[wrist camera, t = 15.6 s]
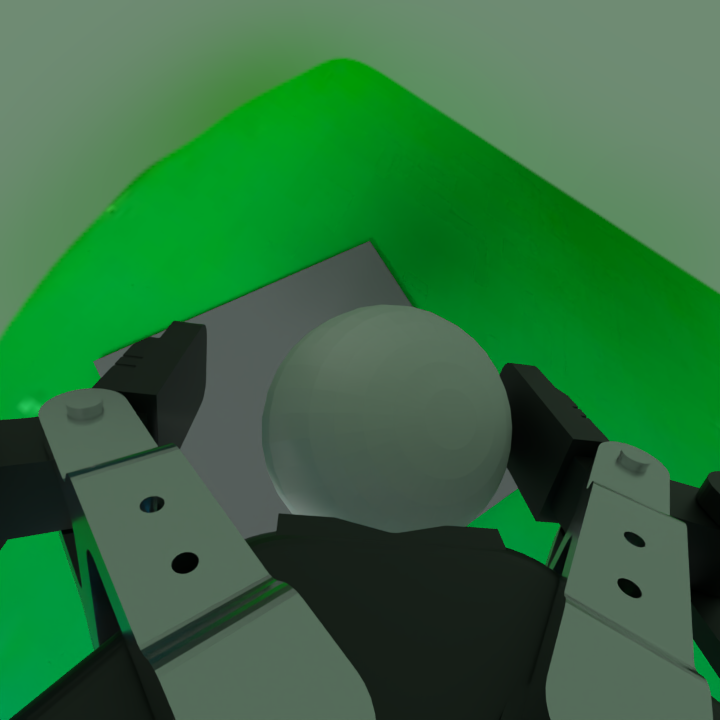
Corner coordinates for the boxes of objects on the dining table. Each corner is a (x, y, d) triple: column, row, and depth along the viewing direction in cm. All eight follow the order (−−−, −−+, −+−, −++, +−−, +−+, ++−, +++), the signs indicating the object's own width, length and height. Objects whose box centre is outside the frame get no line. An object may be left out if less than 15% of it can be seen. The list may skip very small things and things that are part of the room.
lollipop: (322, 359, 24) (523, 244, 10) (357, 467, 23) (613, 504, 10) (202, 394, 21) (244, 306, 7) (239, 515, 21) (356, 660, 7)
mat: (368, 244, 27) (369, 240, 27) (523, 482, 24) (527, 481, 24) (96, 364, 22) (93, 361, 22) (246, 680, 19) (246, 684, 19)
